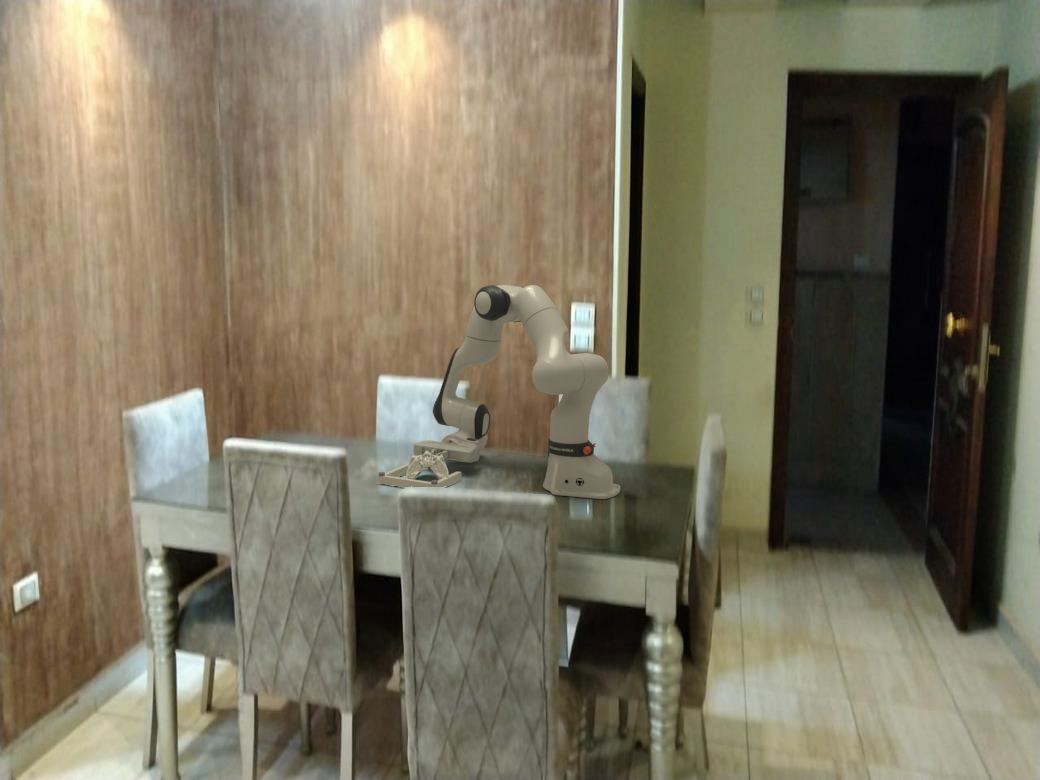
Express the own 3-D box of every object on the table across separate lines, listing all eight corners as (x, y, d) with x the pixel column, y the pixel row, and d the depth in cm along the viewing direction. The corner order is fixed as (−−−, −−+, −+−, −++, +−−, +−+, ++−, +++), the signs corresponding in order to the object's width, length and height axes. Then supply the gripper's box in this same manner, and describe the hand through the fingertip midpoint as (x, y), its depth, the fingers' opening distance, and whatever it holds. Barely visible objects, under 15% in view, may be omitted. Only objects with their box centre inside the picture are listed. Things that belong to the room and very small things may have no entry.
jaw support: (448, 464, 274) (448, 448, 266) (448, 490, 270) (448, 474, 262) (408, 464, 273) (407, 448, 265) (407, 490, 269) (406, 475, 261)
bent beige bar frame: (461, 480, 268) (461, 469, 268) (435, 493, 254) (435, 482, 254) (405, 471, 276) (405, 461, 276) (377, 484, 262) (377, 473, 262)
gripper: (426, 433, 287) (403, 442, 275) (484, 441, 279) (463, 450, 267) (426, 453, 288) (403, 462, 276) (483, 461, 280) (462, 471, 268)
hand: (433, 456), depth 271 cm, fingers closed
